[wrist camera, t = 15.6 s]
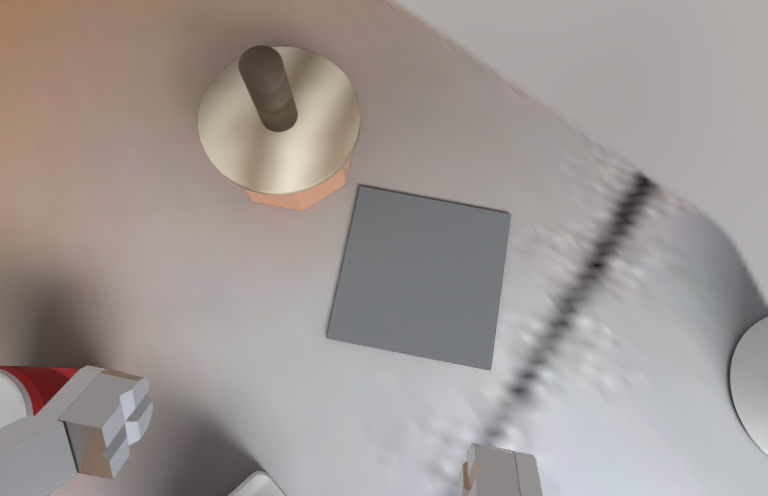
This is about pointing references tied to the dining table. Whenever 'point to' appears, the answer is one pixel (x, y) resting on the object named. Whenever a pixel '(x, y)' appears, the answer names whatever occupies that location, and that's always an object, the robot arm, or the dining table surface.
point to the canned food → (29, 389)
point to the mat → (421, 278)
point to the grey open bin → (258, 486)
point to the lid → (279, 120)
